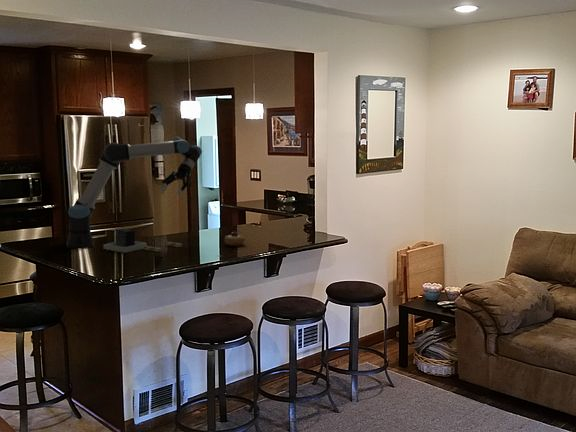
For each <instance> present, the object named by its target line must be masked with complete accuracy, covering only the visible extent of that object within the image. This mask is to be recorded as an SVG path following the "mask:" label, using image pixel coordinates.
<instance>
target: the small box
mask: <svg viewBox="0 0 576 432" xmlns="http://www.w3.org/2000/svg"><path fill="white" fill-rule="evenodd" d="M135 241H136V238H135V230H133V229H128V228H117V229H115V242H116V246H120V247H128V246H133V245H135Z"/></svg>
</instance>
